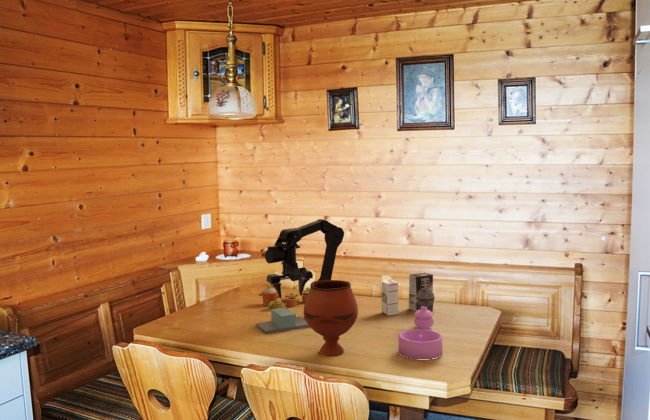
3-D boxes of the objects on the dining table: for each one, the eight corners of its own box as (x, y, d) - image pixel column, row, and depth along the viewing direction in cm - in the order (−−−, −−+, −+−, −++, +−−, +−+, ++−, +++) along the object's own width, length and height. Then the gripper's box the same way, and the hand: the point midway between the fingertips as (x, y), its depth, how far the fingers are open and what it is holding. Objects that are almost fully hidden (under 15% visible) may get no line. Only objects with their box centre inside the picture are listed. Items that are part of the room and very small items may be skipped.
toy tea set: (272, 313, 259) (272, 292, 258) (255, 306, 271) (254, 286, 270) (319, 303, 274) (318, 283, 273) (300, 297, 287) (300, 278, 286)
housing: (284, 318, 244) (284, 307, 243) (295, 326, 233) (295, 314, 233) (271, 320, 241) (271, 309, 241) (282, 328, 230) (282, 316, 230)
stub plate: (299, 319, 247) (299, 309, 247) (311, 326, 236) (311, 316, 236) (255, 326, 238) (255, 316, 238) (265, 333, 227) (265, 323, 227)
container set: (441, 362, 195) (441, 324, 193) (396, 358, 198) (396, 321, 197) (444, 339, 219) (445, 305, 217) (404, 336, 223) (404, 303, 221)
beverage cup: (436, 323, 238) (436, 276, 236) (432, 328, 232) (432, 280, 230) (419, 321, 241) (419, 275, 239) (414, 326, 235) (414, 278, 233)
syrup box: (399, 314, 253) (399, 281, 252) (387, 315, 251) (387, 283, 250) (392, 311, 258) (392, 279, 257) (381, 312, 256) (381, 280, 255)
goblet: (294, 350, 208) (293, 282, 206) (337, 340, 219) (336, 275, 216) (324, 365, 192) (323, 292, 190) (369, 353, 203) (368, 284, 201)
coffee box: (416, 312, 256) (417, 276, 254) (408, 309, 262) (408, 274, 260) (433, 309, 260) (433, 274, 259) (424, 306, 266) (424, 272, 264)
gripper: (275, 265, 226) (277, 304, 228) (318, 260, 234) (319, 297, 236) (265, 261, 236) (266, 298, 238) (306, 256, 244) (307, 292, 246)
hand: (290, 296), depth 239 cm, fingers open, 9 cm apart
